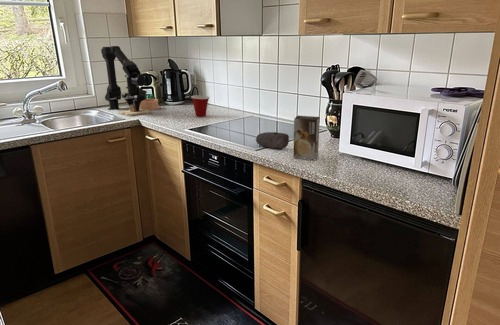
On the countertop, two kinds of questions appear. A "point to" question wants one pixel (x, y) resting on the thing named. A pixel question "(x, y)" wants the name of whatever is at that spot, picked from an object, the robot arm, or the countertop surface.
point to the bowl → (149, 104)
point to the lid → (134, 111)
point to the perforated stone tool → (273, 140)
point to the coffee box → (306, 137)
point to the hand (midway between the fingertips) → (134, 110)
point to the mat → (130, 116)
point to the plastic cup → (200, 105)
